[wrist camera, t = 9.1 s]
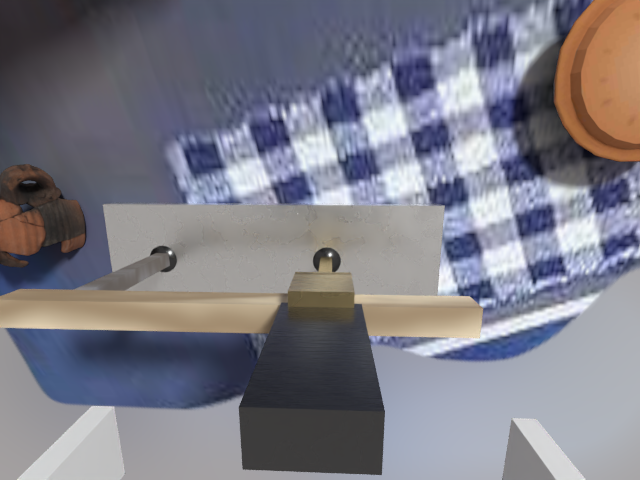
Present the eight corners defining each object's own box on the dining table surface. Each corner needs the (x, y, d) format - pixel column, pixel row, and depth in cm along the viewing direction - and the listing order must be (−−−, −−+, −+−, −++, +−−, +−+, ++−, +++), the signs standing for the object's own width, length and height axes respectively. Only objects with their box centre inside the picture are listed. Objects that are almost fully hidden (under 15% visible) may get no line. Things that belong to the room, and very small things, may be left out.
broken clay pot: (88, 270, 38) (-8, 292, 31) (54, 227, 41) (-38, 240, 35) (94, 182, 33) (-20, 186, 26) (54, 141, 36) (-55, 136, 29)
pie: (501, 128, 32) (531, 120, 27) (585, -35, 29) (636, -77, 24) (634, 186, 33) (686, 188, 28) (730, 33, 30) (808, 5, 25)
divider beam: (127, 249, 34) (-10, 299, 21) (421, 253, 33) (483, 308, 19) (129, 267, 35) (-3, 327, 21) (420, 271, 34) (479, 338, 20)
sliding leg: (302, 240, 33) (237, 381, 11) (350, 241, 33) (386, 385, 10) (303, 282, 34) (244, 491, 12) (349, 283, 34) (380, 497, 11)
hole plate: (115, 202, 36) (102, 204, 33) (438, 203, 34) (444, 205, 32) (128, 301, 38) (117, 309, 36) (430, 307, 36) (435, 315, 34)
